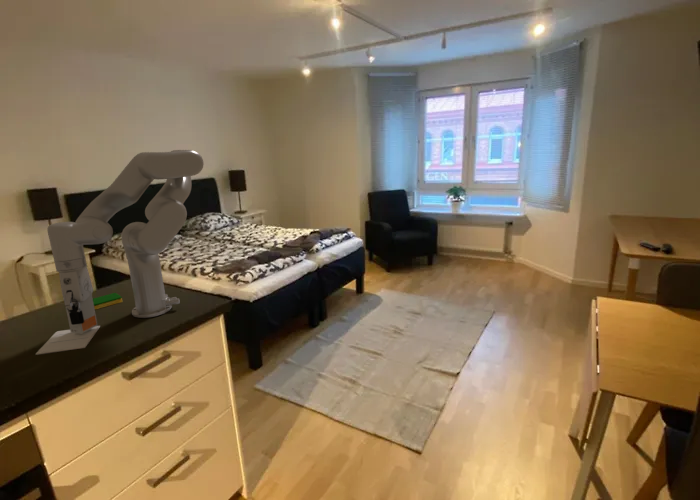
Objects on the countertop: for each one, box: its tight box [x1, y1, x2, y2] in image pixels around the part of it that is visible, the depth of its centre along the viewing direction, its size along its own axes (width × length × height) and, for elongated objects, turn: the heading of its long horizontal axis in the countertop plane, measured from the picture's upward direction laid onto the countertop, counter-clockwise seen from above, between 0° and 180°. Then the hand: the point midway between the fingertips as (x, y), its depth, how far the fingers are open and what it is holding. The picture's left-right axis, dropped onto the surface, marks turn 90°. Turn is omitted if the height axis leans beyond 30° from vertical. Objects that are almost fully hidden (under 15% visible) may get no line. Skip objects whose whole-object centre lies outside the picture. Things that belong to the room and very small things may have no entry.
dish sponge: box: [92, 292, 123, 311], centre depth 139 cm, size 7×14×2 cm, turn 139°
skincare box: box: [65, 291, 98, 334], centre depth 117 cm, size 6×4×12 cm
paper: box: [35, 325, 101, 356], centre depth 114 cm, size 12×14×1 cm
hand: (82, 317), depth 117 cm, fingers closed on skincare box, 7 cm apart
